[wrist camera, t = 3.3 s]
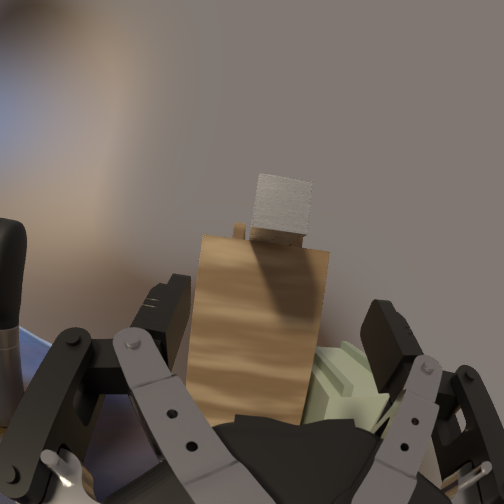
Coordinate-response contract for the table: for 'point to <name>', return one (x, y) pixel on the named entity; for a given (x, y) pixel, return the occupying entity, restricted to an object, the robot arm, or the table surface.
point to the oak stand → (254, 327)
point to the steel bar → (280, 210)
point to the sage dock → (342, 388)
